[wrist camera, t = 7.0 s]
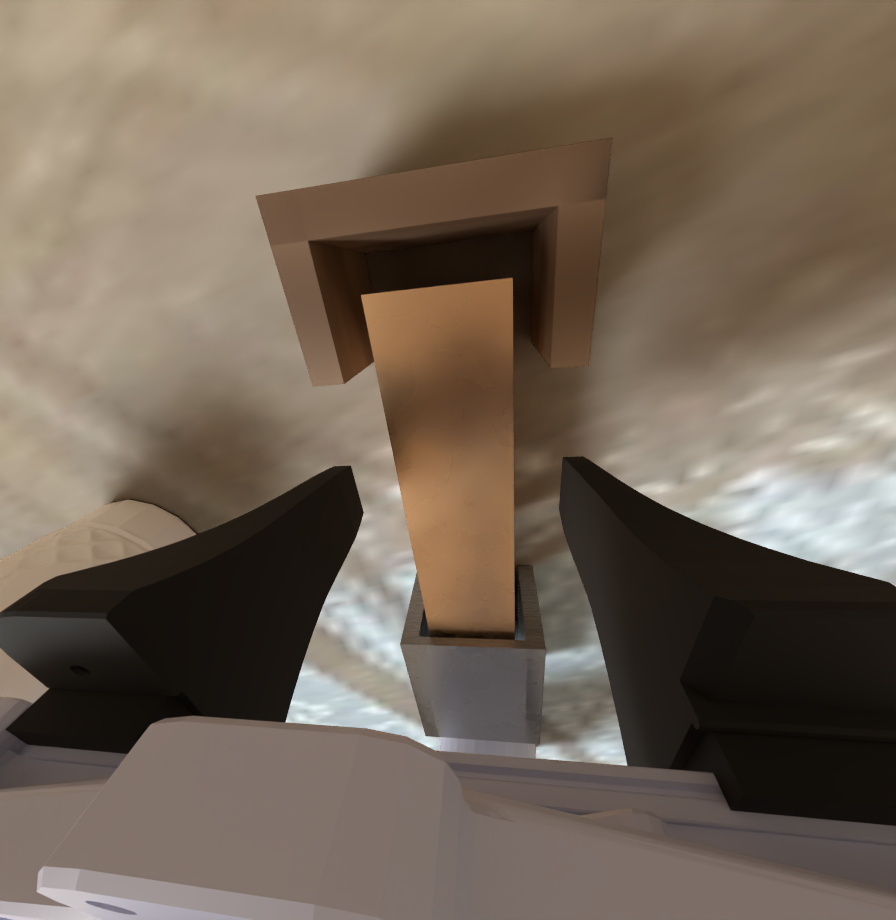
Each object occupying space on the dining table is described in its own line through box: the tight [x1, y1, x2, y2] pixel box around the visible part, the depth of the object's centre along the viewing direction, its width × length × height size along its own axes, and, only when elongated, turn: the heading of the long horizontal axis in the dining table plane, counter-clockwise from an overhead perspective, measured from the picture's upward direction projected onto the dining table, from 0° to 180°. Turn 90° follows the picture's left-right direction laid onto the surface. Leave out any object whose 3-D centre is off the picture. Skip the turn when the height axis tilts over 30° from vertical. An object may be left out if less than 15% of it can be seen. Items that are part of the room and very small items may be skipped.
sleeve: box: [400, 566, 546, 744], centre depth 19 cm, size 9×7×5 cm
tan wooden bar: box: [361, 278, 515, 640], centre depth 14 cm, size 16×4×4 cm, turn 6°
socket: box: [256, 138, 612, 386], centre depth 10 cm, size 5×8×4 cm, turn 96°
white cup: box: [0, 500, 197, 703], centre depth 16 cm, size 8×8×10 cm
